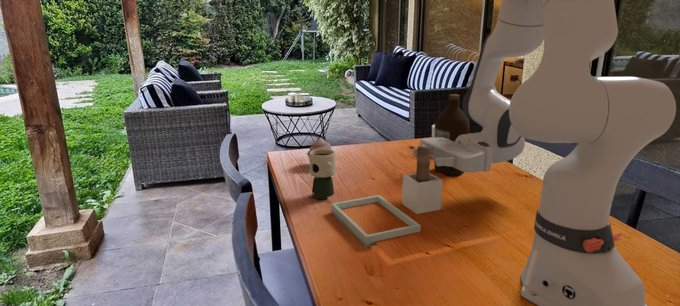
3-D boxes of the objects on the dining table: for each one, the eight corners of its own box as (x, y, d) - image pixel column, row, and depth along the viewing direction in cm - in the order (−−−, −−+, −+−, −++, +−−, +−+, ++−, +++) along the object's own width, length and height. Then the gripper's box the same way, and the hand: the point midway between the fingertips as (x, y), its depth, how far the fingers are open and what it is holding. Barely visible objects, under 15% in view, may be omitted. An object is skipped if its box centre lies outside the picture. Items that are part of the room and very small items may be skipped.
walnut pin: (429, 207, 117) (433, 148, 112) (419, 209, 116) (422, 149, 111) (422, 203, 120) (425, 145, 115) (412, 205, 119) (415, 146, 114)
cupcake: (323, 160, 159) (323, 132, 156) (340, 166, 152) (340, 138, 149) (301, 165, 153) (300, 137, 151) (317, 172, 146) (317, 143, 144)
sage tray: (420, 235, 105) (420, 225, 104) (366, 247, 99) (366, 237, 99) (379, 203, 122) (379, 195, 122) (331, 212, 117) (331, 203, 116)
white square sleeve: (440, 212, 116) (442, 179, 114) (416, 217, 114) (418, 184, 111) (424, 202, 123) (426, 171, 120) (401, 206, 120) (403, 175, 117)
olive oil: (451, 164, 154) (456, 91, 146) (473, 173, 145) (479, 96, 137) (425, 169, 149) (429, 93, 142) (446, 178, 140) (452, 99, 133)
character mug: (304, 192, 131) (302, 148, 127) (326, 187, 134) (325, 145, 130) (319, 205, 121) (318, 159, 117) (343, 200, 124) (342, 155, 120)
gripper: (446, 130, 128) (403, 135, 122) (496, 148, 110) (449, 155, 104) (444, 151, 129) (402, 157, 124) (494, 173, 111) (447, 181, 106)
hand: (424, 157), depth 114 cm, fingers open, 8 cm apart
